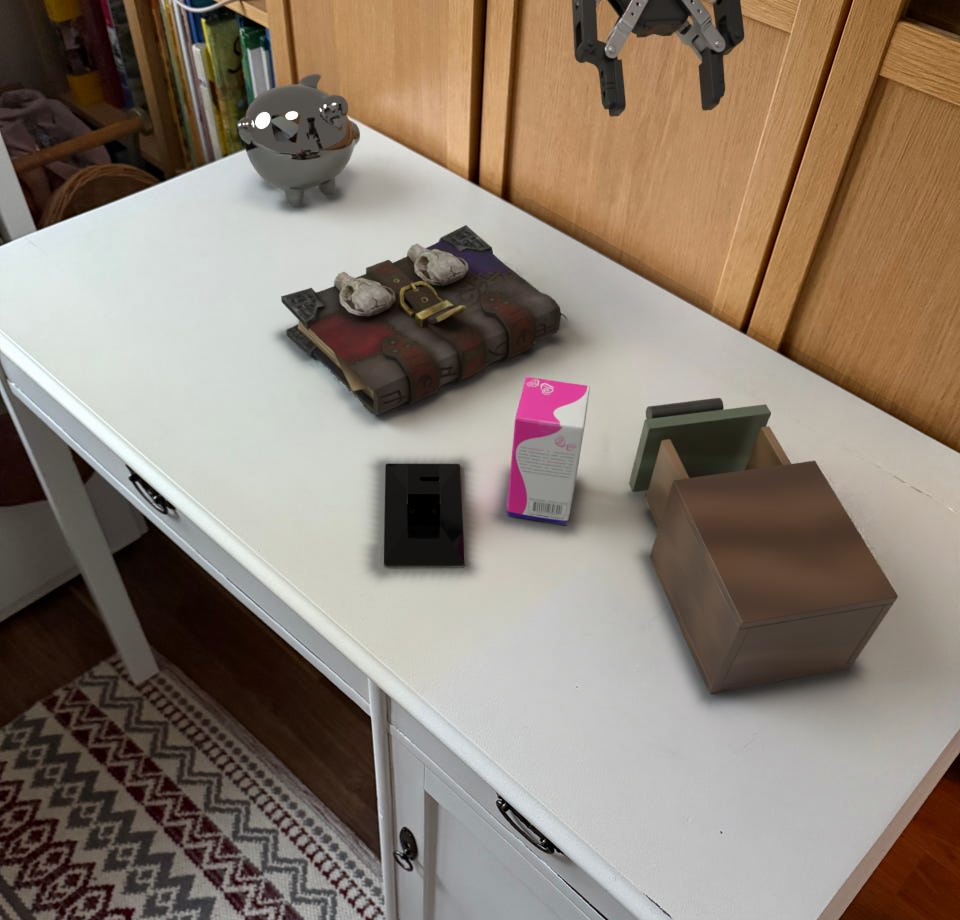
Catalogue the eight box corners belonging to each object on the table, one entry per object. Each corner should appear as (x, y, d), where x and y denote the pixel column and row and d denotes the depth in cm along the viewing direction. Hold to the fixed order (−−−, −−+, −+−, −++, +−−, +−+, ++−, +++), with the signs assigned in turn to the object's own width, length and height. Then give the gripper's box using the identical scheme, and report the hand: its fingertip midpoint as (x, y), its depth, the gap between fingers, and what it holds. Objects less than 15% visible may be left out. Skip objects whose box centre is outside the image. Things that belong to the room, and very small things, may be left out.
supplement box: (575, 481, 88) (593, 384, 79) (567, 526, 85) (585, 431, 76) (514, 471, 89) (525, 373, 79) (504, 516, 85) (514, 419, 76)
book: (372, 430, 91) (368, 368, 85) (280, 333, 99) (271, 270, 93) (581, 337, 101) (590, 276, 95) (482, 256, 109) (485, 195, 103)
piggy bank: (380, 195, 115) (377, 97, 106) (267, 226, 110) (253, 126, 101) (339, 152, 121) (332, 55, 111) (229, 180, 115) (212, 81, 106)
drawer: (614, 451, 90) (628, 386, 83) (724, 437, 92) (747, 372, 85) (678, 596, 80) (700, 534, 73) (801, 576, 82) (832, 514, 75)
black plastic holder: (464, 568, 82) (466, 532, 78) (380, 568, 81) (378, 533, 78) (460, 466, 89) (461, 429, 85) (382, 465, 88) (380, 428, 85)
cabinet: (649, 557, 83) (672, 479, 76) (779, 537, 86) (815, 460, 78) (709, 693, 75) (742, 623, 68) (851, 668, 77) (898, 596, 70)
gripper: (578, -132, 72) (600, 98, 75) (749, -136, 74) (764, 87, 77) (550, -76, 79) (572, 132, 82) (707, -81, 81) (722, 121, 85)
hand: (665, 110), depth 80 cm, fingers open, 8 cm apart
